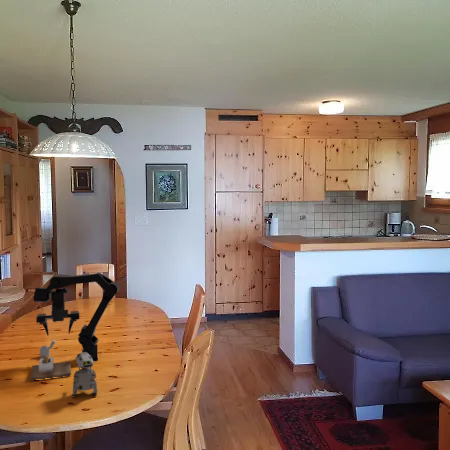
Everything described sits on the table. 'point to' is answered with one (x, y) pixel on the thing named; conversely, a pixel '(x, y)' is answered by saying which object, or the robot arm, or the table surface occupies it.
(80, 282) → the robot arm
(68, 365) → the grey peg stand
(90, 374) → the figurine
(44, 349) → the lighter
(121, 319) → the table surface
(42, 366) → the steel link
